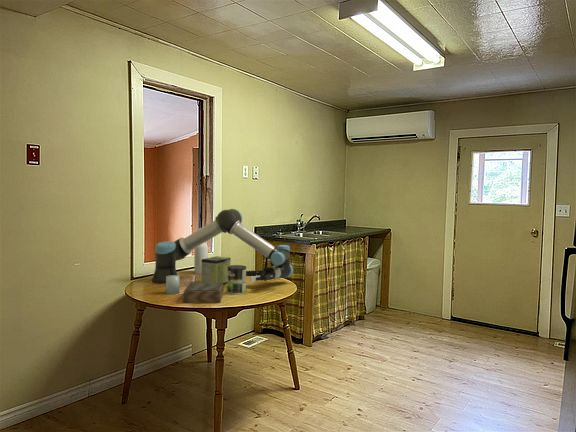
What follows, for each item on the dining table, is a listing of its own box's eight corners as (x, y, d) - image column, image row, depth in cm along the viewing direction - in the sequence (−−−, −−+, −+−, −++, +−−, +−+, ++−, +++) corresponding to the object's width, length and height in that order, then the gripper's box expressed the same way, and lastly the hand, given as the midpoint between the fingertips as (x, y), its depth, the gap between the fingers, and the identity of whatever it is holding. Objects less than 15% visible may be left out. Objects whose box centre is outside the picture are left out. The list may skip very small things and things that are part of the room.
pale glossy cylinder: (164, 294, 225) (164, 277, 225) (167, 291, 232) (167, 275, 232) (178, 294, 226) (178, 277, 225) (180, 291, 233) (180, 275, 232)
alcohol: (195, 272, 290) (195, 227, 288) (208, 272, 290) (208, 228, 289) (193, 274, 281) (193, 229, 279) (206, 274, 281) (207, 229, 280)
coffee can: (234, 295, 226) (234, 268, 226) (223, 291, 234) (223, 266, 233) (249, 292, 233) (250, 266, 233) (238, 289, 241) (239, 264, 240)
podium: (183, 302, 209) (183, 290, 209) (188, 294, 227) (188, 283, 226) (220, 302, 210) (220, 290, 210) (223, 294, 228) (223, 283, 228)
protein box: (230, 282, 257) (231, 257, 257) (215, 287, 243) (216, 260, 243) (216, 281, 262) (216, 255, 261) (200, 285, 248) (201, 259, 247)
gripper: (286, 282, 242) (257, 288, 227) (257, 276, 259) (229, 280, 244) (286, 269, 241) (257, 274, 226) (257, 263, 259) (229, 267, 244)
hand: (242, 277), depth 235 cm, fingers open, 13 cm apart
